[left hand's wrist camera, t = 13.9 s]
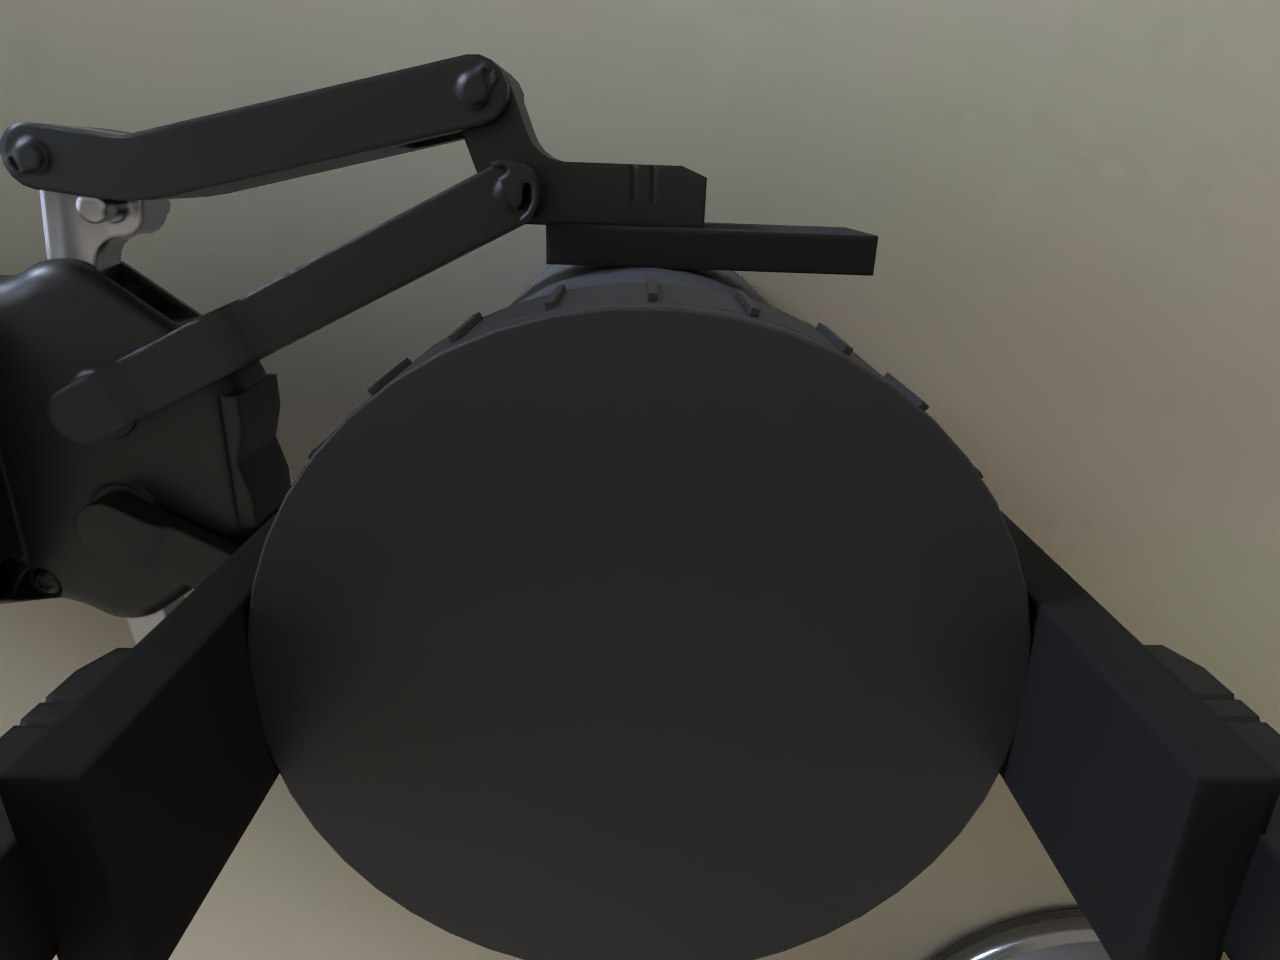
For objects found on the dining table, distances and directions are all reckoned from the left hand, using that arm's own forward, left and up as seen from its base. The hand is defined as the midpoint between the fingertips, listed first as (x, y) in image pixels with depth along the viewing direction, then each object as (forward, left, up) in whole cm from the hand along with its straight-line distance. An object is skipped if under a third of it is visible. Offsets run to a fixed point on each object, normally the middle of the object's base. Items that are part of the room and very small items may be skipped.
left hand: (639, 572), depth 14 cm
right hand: (-4, -2, -6) cm, 7 cm away
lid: (0, 0, +3) cm, 3 cm away
